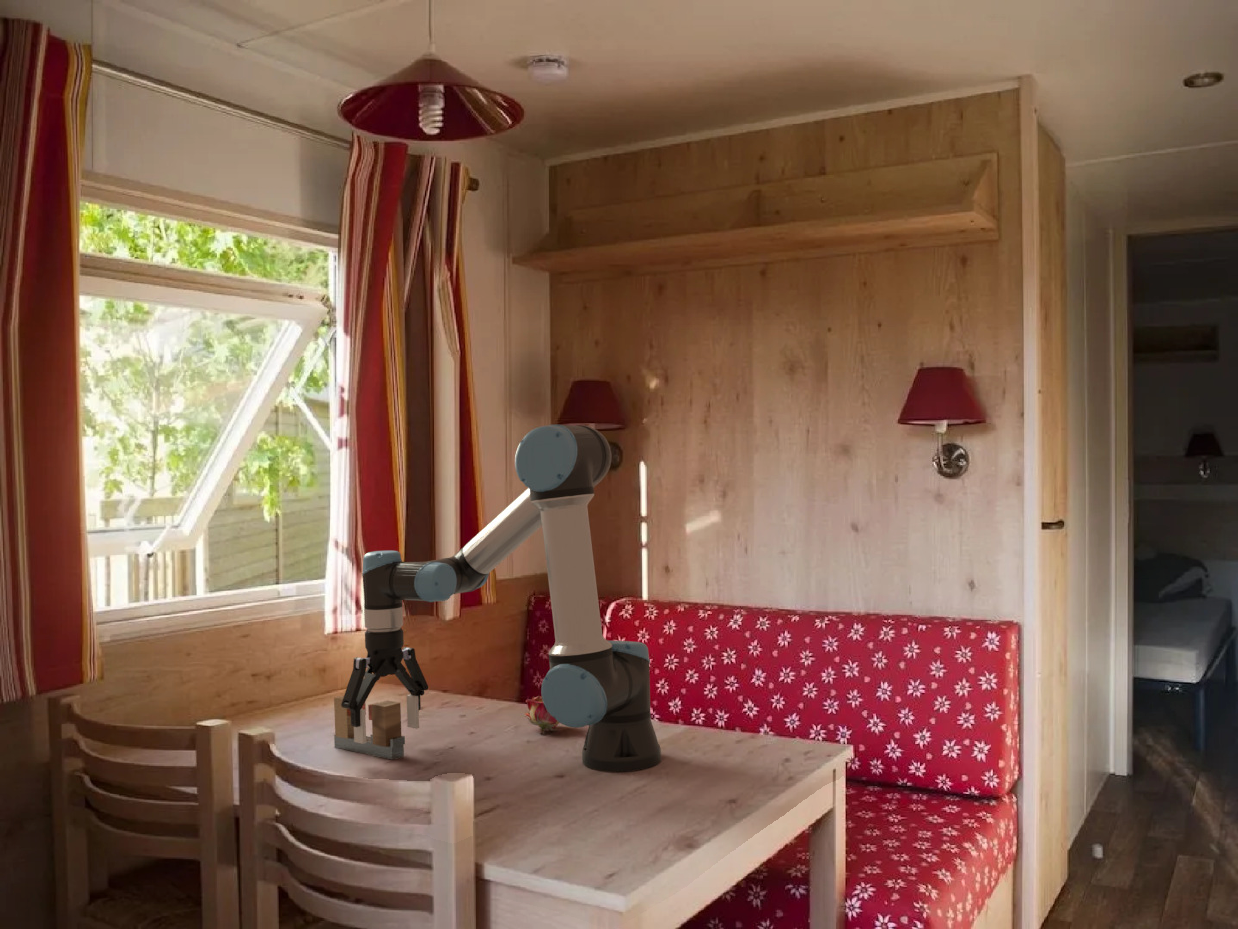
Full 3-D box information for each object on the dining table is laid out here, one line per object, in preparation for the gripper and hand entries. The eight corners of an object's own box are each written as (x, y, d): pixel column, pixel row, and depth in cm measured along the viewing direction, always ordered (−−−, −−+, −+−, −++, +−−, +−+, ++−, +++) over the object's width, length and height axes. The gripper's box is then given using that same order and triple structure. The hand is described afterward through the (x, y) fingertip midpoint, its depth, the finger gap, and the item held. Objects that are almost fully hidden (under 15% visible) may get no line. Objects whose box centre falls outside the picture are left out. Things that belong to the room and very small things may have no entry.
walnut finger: (401, 742, 221) (400, 702, 221) (386, 747, 218) (384, 706, 218) (381, 738, 225) (380, 699, 225) (366, 743, 222) (365, 703, 222)
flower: (562, 730, 230) (569, 695, 235) (519, 722, 230) (527, 687, 235) (561, 746, 238) (567, 711, 243) (519, 738, 238) (526, 704, 243)
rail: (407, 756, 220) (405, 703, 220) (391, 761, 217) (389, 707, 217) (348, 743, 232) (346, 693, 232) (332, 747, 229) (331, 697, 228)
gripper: (418, 618, 233) (421, 719, 233) (320, 636, 213) (324, 746, 213) (443, 621, 228) (446, 723, 228) (345, 639, 208) (349, 752, 209)
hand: (387, 735), depth 221 cm, fingers open, 13 cm apart
